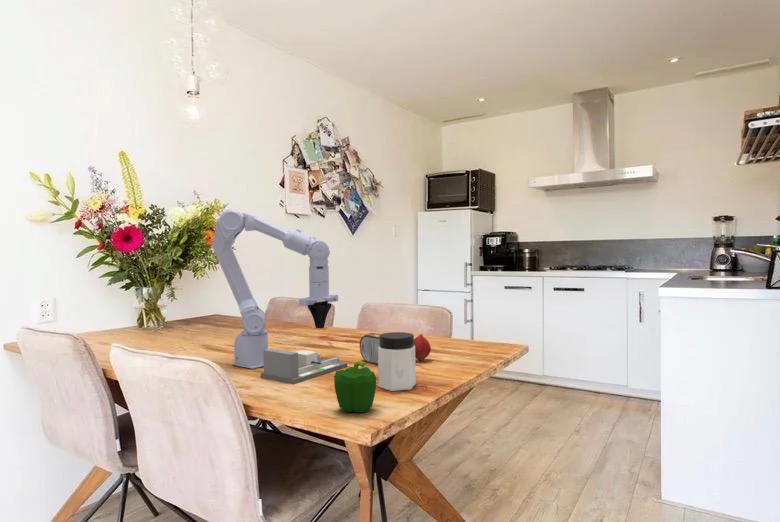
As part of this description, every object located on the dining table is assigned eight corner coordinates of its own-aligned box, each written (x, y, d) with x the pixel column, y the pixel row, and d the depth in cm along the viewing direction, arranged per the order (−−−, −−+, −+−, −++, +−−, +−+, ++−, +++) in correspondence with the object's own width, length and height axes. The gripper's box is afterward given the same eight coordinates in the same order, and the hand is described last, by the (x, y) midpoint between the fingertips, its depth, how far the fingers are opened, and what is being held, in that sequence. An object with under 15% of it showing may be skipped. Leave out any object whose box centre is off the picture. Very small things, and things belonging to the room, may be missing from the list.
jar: (382, 392, 104) (381, 339, 103) (375, 382, 112) (374, 333, 111) (420, 389, 106) (419, 337, 105) (411, 379, 114) (410, 331, 113)
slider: (291, 367, 123) (291, 352, 123) (303, 364, 126) (303, 349, 126) (315, 372, 118) (314, 356, 118) (326, 368, 121) (326, 353, 121)
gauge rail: (260, 377, 118) (260, 349, 118) (315, 361, 135) (315, 337, 135) (293, 384, 111) (293, 355, 111) (347, 366, 128) (346, 341, 128)
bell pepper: (330, 406, 95) (329, 357, 95) (368, 400, 98) (367, 353, 98) (341, 419, 87) (340, 366, 87) (382, 413, 90) (381, 362, 90)
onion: (407, 362, 131) (407, 334, 131) (414, 358, 137) (414, 331, 137) (427, 364, 129) (427, 335, 129) (433, 359, 135) (433, 332, 134)
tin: (403, 367, 126) (402, 336, 126) (395, 369, 124) (394, 338, 124) (365, 359, 137) (365, 330, 136) (357, 361, 134) (357, 332, 134)
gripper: (311, 283, 128) (312, 333, 128) (345, 280, 140) (346, 325, 140) (293, 283, 132) (294, 330, 132) (328, 280, 144) (328, 323, 144)
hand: (319, 328), depth 136 cm, fingers closed
